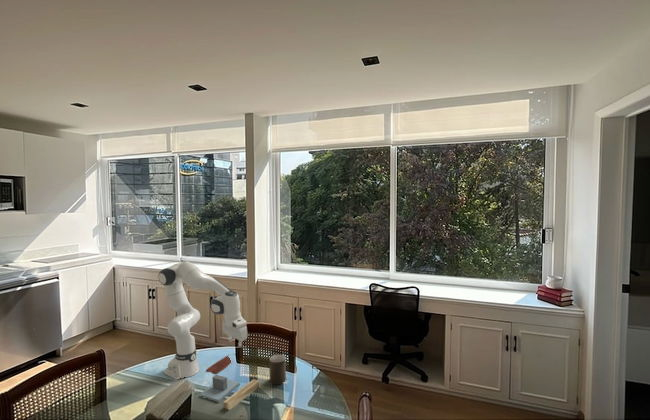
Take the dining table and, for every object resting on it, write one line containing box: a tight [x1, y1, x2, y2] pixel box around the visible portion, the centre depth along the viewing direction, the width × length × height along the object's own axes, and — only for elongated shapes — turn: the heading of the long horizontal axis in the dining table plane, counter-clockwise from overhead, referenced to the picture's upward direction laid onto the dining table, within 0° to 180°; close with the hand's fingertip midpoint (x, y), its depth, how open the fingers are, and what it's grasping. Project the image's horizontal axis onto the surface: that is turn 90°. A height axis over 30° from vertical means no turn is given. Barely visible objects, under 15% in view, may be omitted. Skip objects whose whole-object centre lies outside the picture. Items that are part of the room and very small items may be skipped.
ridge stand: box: [199, 374, 241, 403], centre depth 198 cm, size 14×18×8 cm
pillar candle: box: [269, 354, 287, 385], centre depth 207 cm, size 10×10×15 cm
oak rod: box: [223, 378, 260, 411], centre depth 191 cm, size 4×24×4 cm, turn 150°
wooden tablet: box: [205, 355, 232, 375], centre depth 229 cm, size 27×10×2 cm, turn 156°
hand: (235, 343), depth 193 cm, fingers open, 8 cm apart
